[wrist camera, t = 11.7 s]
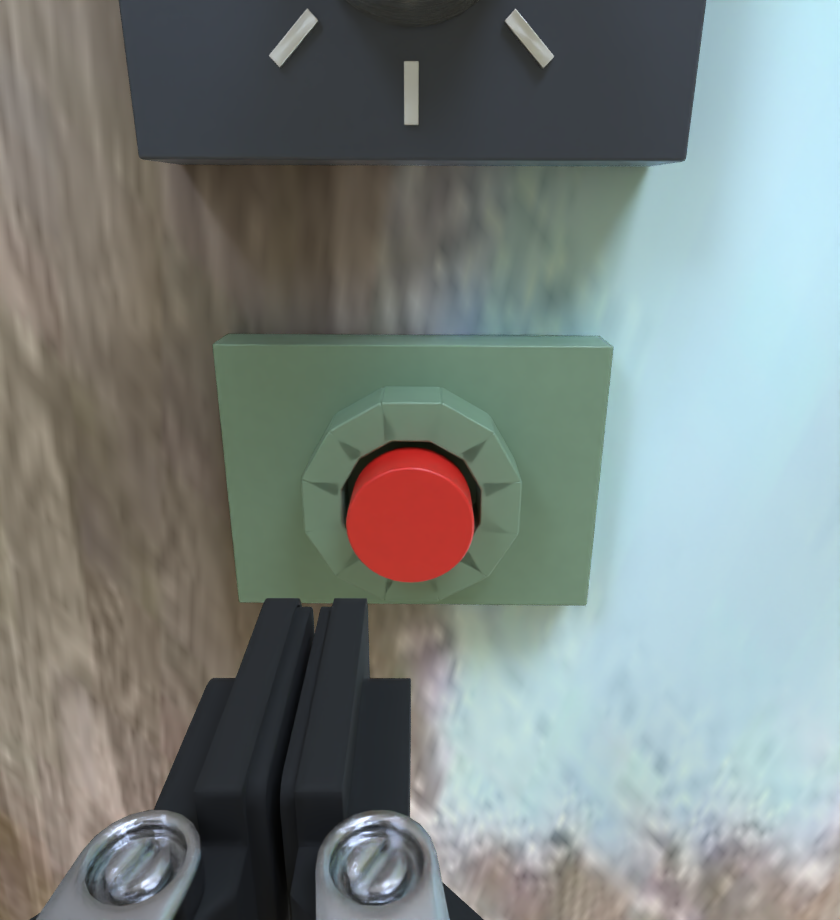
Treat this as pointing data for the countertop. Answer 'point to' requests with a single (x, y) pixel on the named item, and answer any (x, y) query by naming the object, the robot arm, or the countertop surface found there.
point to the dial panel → (413, 83)
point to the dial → (411, 11)
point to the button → (410, 515)
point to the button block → (413, 425)
